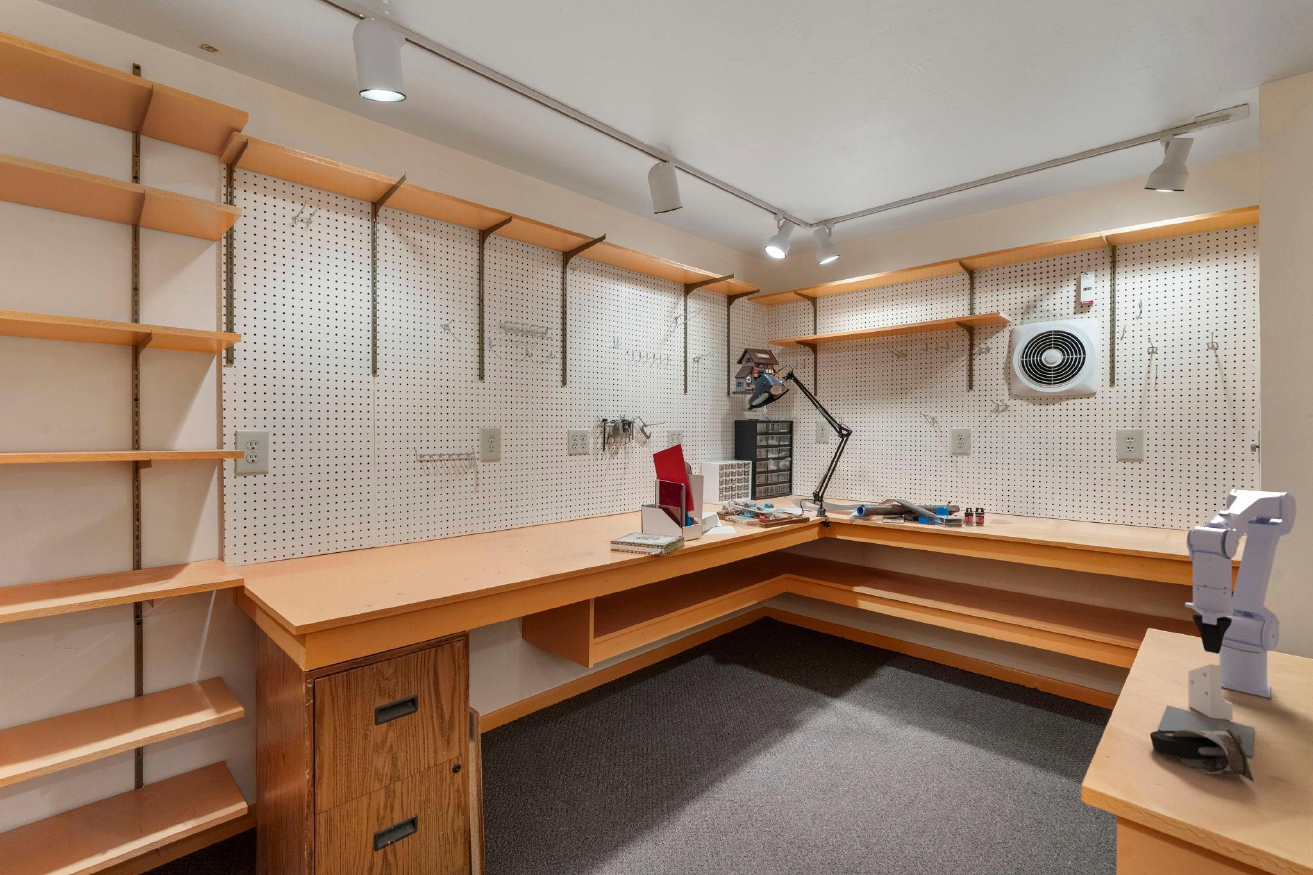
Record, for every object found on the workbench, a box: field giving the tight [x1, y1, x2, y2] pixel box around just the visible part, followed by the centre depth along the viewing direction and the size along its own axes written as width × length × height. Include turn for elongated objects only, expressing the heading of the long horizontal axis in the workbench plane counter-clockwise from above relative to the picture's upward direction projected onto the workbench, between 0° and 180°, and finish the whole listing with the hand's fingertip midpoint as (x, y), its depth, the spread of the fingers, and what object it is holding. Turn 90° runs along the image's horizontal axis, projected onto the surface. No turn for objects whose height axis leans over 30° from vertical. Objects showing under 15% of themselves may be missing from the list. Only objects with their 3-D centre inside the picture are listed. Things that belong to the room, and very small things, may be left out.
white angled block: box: [1187, 663, 1234, 721], centre depth 110 cm, size 4×10×9 cm
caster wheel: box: [1149, 725, 1254, 783], centre depth 94 cm, size 7×11×10 cm
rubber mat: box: [1157, 705, 1255, 759], centre depth 104 cm, size 14×12×1 cm
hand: (1212, 651), depth 116 cm, fingers closed
